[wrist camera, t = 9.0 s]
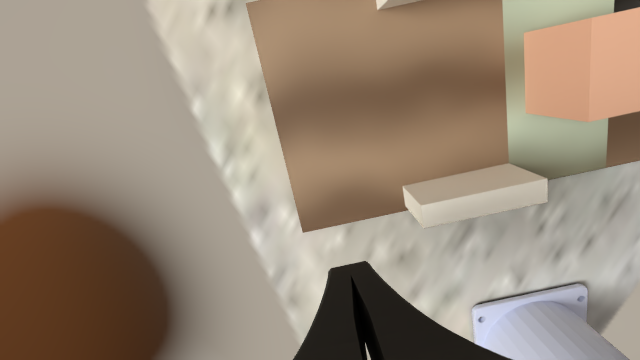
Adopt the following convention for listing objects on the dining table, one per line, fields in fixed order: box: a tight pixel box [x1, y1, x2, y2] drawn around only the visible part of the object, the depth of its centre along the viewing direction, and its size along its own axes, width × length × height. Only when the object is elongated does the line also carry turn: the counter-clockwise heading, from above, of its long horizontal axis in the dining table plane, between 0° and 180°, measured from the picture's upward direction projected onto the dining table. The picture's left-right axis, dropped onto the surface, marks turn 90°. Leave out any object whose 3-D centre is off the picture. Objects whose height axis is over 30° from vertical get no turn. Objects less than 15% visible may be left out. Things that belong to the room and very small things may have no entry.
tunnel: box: [376, 0, 548, 228], centre depth 15 cm, size 11×6×3 cm, turn 12°
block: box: [524, 7, 640, 122], centre depth 15 cm, size 4×4×4 cm
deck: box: [246, 0, 640, 233], centre depth 18 cm, size 12×24×2 cm, turn 102°
